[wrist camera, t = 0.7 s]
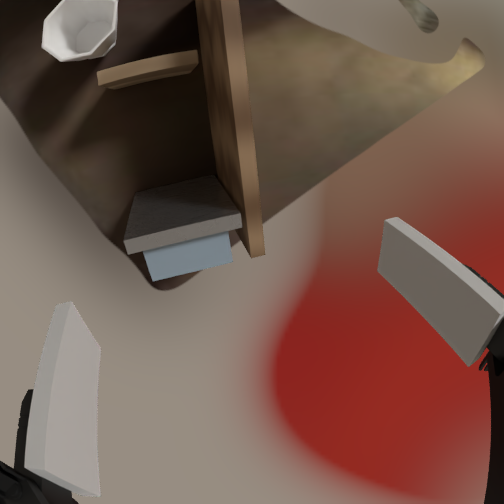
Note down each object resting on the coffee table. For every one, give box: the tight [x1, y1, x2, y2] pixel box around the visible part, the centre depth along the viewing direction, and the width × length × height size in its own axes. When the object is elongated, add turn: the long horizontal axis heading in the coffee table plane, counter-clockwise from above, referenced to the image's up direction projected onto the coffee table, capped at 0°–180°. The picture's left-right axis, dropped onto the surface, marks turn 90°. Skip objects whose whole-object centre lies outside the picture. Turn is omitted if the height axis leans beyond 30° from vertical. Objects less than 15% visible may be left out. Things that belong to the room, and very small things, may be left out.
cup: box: [42, 0, 118, 62], centre depth 16 cm, size 7×10×8 cm
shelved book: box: [143, 231, 233, 281], centre depth 28 cm, size 3×7×11 cm, turn 96°
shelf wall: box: [195, 0, 265, 258], centre depth 23 cm, size 25×1×12 cm, turn 6°
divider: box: [97, 50, 199, 90], centre depth 21 cm, size 1×8×8 cm, turn 96°
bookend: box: [124, 175, 242, 255], centre depth 26 cm, size 2×9×12 cm, turn 96°
